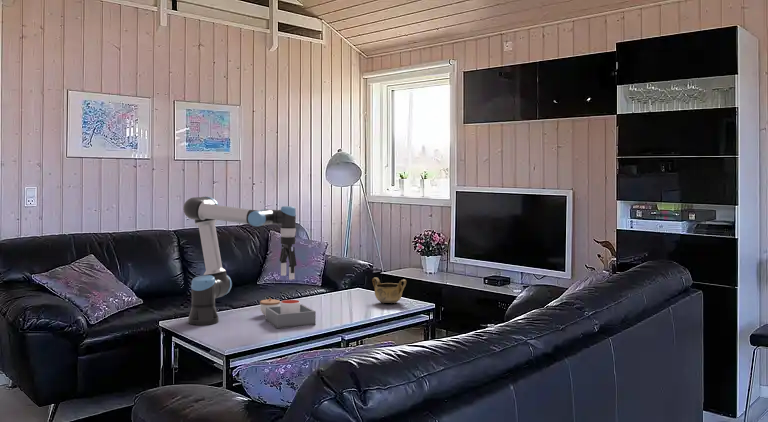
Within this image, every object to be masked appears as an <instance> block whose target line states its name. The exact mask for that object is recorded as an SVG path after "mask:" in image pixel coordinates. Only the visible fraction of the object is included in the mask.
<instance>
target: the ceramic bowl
mask: <svg viewBox="0 0 768 422" xmlns="http://www.w3.org/2000/svg"><path fill="white" fill-rule="evenodd" d="M371 282H372V286H373V288H374V296H375V298H376V299H377V301H379V302H381V304H384V303H394V304H395V303H398V302H399V301H400V300H401V298H402V296H403V291H404V290H405V287H406V285H407V280H406V279H401V280H399V282H398V283H393V282H384V283H381V280H380V279H379V277H373V278H372V279H371ZM402 282H403V284H402Z"/></svg>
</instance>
